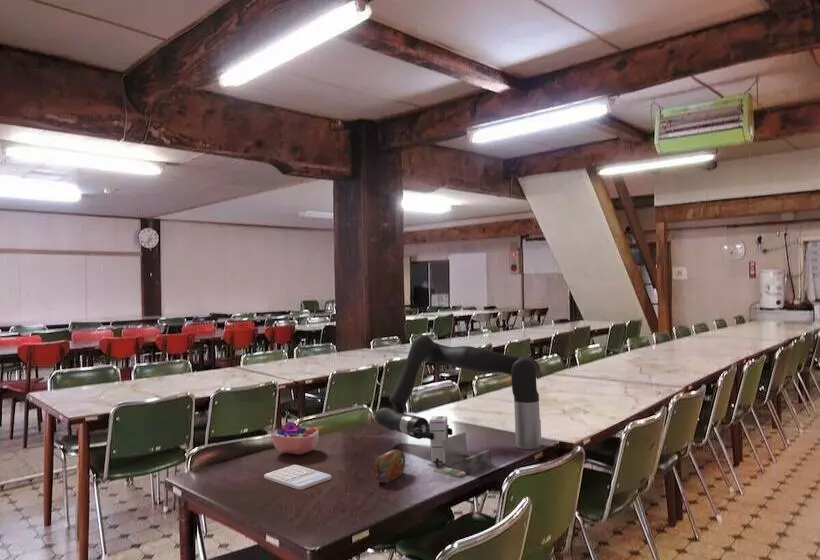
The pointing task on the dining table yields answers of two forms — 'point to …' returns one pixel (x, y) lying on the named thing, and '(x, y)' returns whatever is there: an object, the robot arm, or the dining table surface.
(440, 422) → the syrup box
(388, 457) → the tin
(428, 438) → the robot arm
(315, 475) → the calculator
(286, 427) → the cell model
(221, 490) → the dining table surface
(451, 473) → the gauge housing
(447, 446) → the gauge paddle
